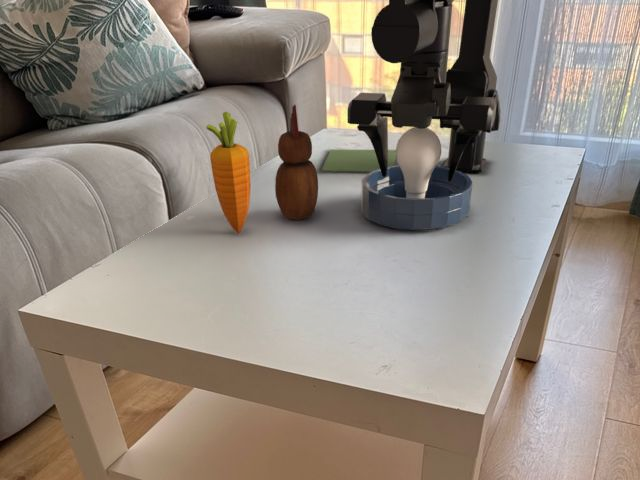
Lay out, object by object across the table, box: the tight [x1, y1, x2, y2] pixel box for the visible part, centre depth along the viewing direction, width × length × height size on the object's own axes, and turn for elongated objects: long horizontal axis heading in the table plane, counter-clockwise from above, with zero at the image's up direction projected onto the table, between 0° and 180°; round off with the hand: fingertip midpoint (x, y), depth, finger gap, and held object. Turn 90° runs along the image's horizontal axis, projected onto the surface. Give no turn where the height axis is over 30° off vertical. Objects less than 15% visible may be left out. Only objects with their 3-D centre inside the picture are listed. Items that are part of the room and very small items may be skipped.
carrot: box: [205, 111, 252, 234], centre depth 83 cm, size 5×5×15 cm
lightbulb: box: [395, 127, 442, 199], centre depth 87 cm, size 6×6×11 cm
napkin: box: [321, 149, 396, 174], centre depth 111 cm, size 12×12×1 cm
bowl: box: [360, 164, 473, 230], centre depth 90 cm, size 15×15×4 cm
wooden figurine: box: [274, 104, 319, 221], centre depth 87 cm, size 7×6×15 cm
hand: (416, 178), depth 88 cm, fingers open, 9 cm apart
